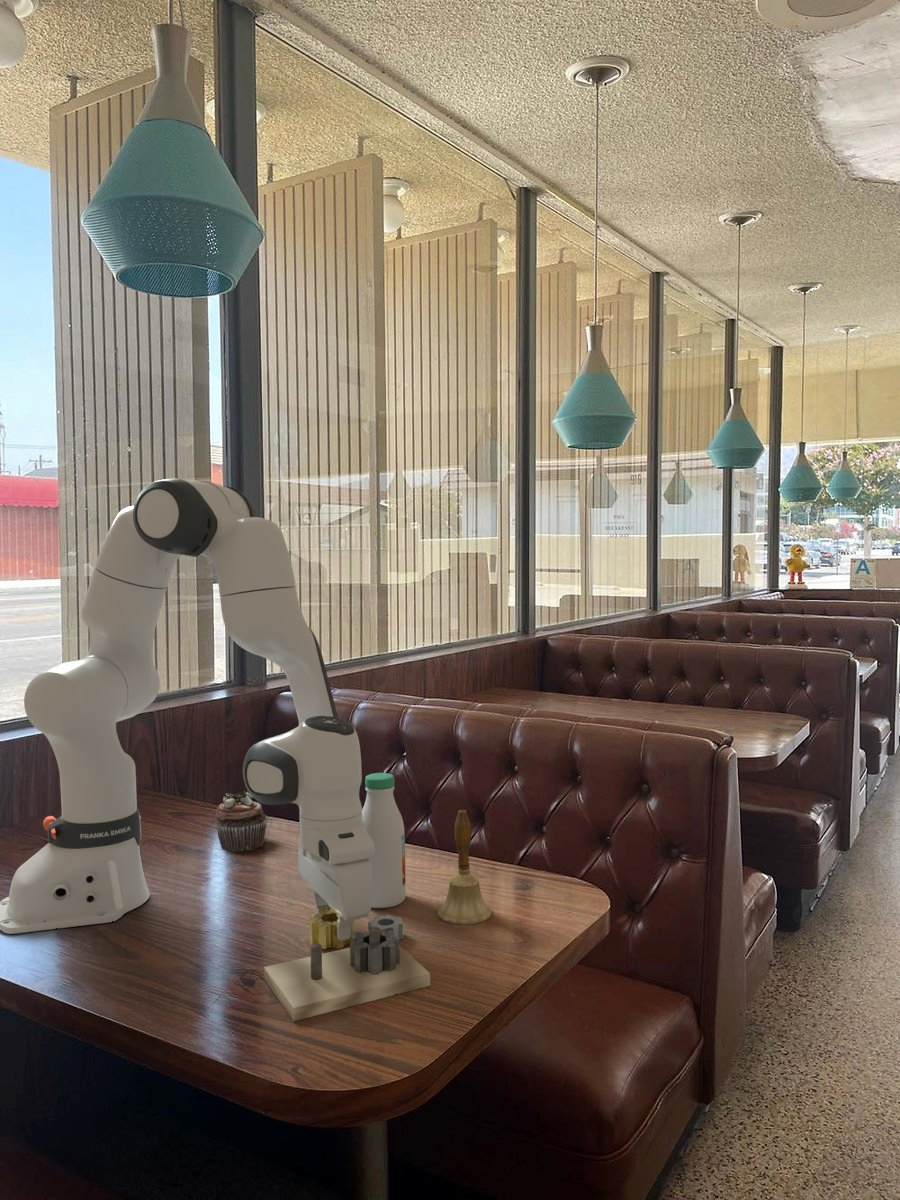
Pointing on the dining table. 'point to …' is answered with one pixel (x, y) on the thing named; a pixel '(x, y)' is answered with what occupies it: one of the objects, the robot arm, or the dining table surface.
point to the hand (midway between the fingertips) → (332, 927)
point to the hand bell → (464, 883)
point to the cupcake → (240, 822)
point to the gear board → (338, 981)
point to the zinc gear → (388, 925)
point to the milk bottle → (385, 841)
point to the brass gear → (327, 930)
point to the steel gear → (374, 952)
